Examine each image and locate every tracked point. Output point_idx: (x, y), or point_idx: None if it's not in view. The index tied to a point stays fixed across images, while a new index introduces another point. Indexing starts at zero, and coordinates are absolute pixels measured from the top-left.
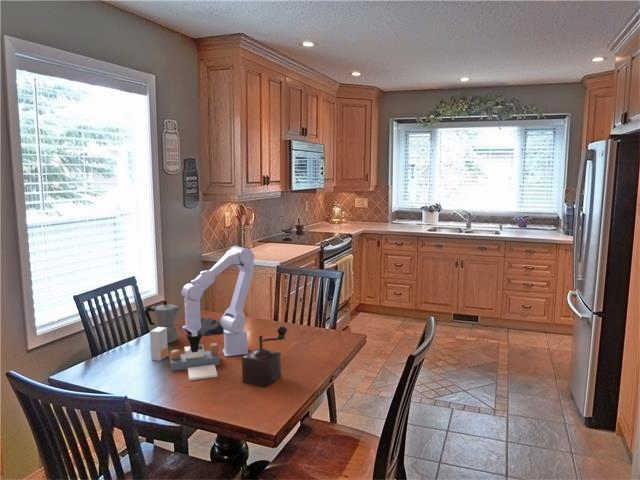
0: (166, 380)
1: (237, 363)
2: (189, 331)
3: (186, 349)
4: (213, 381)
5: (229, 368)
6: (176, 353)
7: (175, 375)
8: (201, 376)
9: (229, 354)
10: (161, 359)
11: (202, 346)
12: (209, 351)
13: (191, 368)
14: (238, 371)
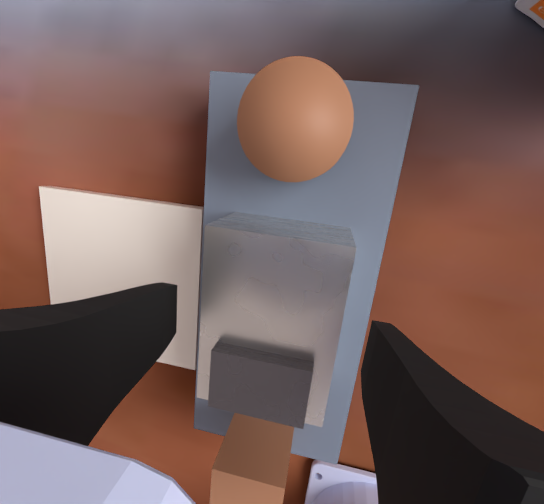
0: (85, 39)
1: (195, 466)
2: (434, 484)
3: (254, 248)
4: (18, 299)
5: (146, 413)
6: (237, 127)
7: (146, 112)
8: (50, 258)
9: (320, 488)
10: (529, 14)
11: (225, 407)
12: (335, 416)
13: (180, 230)
14: (99, 431)
